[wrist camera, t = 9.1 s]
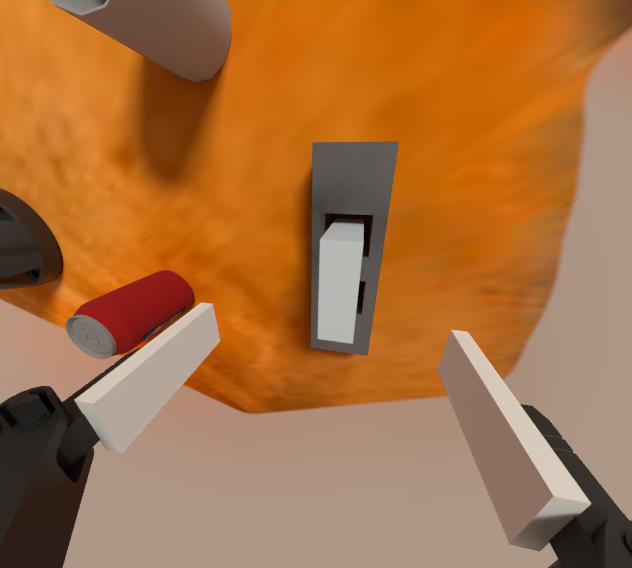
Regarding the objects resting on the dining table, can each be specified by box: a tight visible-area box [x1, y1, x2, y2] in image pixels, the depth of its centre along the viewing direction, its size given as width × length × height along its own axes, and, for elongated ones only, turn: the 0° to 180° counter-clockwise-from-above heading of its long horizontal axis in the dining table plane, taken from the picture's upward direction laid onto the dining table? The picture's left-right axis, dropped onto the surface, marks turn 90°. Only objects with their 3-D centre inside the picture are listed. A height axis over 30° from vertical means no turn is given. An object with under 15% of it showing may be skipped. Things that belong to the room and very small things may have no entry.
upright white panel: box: [318, 218, 364, 344], centre depth 22 cm, size 9×3×10 cm, turn 178°
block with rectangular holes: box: [311, 141, 399, 356], centre depth 25 cm, size 7×22×4 cm, turn 178°
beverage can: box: [66, 270, 193, 359], centre depth 28 cm, size 7×7×12 cm
